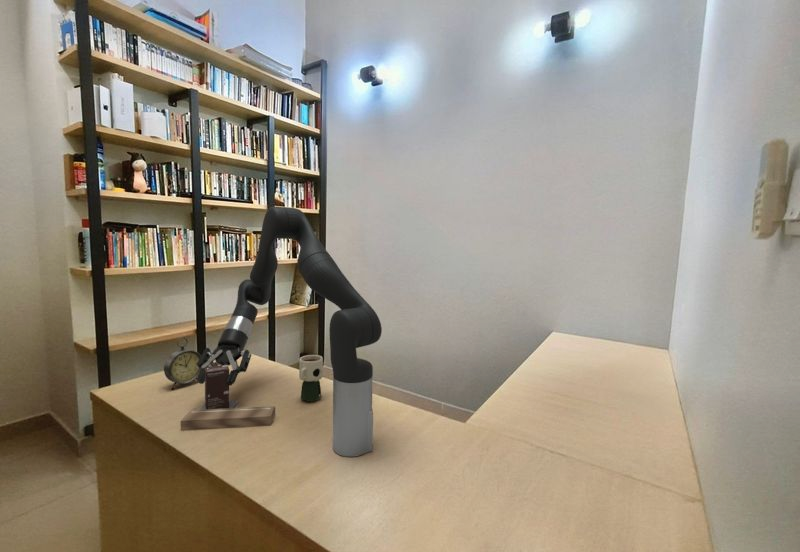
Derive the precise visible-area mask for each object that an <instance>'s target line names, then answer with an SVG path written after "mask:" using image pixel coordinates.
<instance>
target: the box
mask: <svg viewBox="0 0 800 552" xmlns="http://www.w3.org/2000/svg"><path fill="white" fill-rule="evenodd" d="M229 374H230V368H229V366H228V365H218V366H212V367H206V368H205V382H204V404H205V409H225V408H229V401H230V386H229V385H228V384H227V383H226V381H227V379H228V377H229Z"/></svg>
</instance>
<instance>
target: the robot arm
mask: <svg viewBox="0 0 800 552" xmlns="http://www.w3.org/2000/svg"><path fill="white" fill-rule="evenodd" d="M276 239H278V240H279V239H281V240H282V239H283V240H293V241H296V242H297V244H298V245H299V247H300V249H299V253H298V257H297V262H296V264H297V269H298V272H299V274H300V275H301V277H302V279H303V280H304V282H305V284H306V285H307V286H308V287H309V288H310V289H311V290H312V291H313V292H314V293H316V294H317V295H319V296H321V297H322V298H324V299H326V300H328V302H331V303H332V304H334V305H335V306H337V307H338V309H339V310H336V311H335V312H333V314H332V316H331V318H330V322H329V348H330V349H329V351H330V354H329V355H330V363H331V368H332V376H333V377H332V449H333V451H334V452H335V453H336V454H338V455H340V456H343V457H357V456H358V457H359V456H362V455H364V454H366V453H368V452H373V450H374V449H373V446H374V445H373V443H374V442H373V439H374V436H373V435H374V411H373V385H374V384H373V378H374V377H373V376H374V375H373V374H374V373H373V371H374V369H373V364H372V363H371V362H370V361H368V360H366V359H364V358H359V357H358V356H357V349H359V348H362V347H367V346H371V345H373V344H375V343H377V342H378V341H379V340H380V339H381V336H382V332H383V331H382V330H383V329H382V323H381V320H380V318H379V316H378V314H377V312H376V310H374V309H373V307H372V306H371V305H370V304H369V303H368V302H367V301H366V300H365V299H364V297H363V296H362V295H361V294H360V293H359V292H358V291H357V290H356V288H355V287H354V286H353V285H352V284H351V282H350V281H349V280H348V279H347V277H346V276H345V275H344V273H343V272H342V270H341V269H340V267H339V266H338V264H337V263H336V261H335V260H334V259H333V257H332V256H331V255H330V253H329V252H328V250H327V249H326V248H325V246H324V245H323V244H322V242H321V241H320V239H319V238H318V236H317V235H316V233H315V231H314V229H313V227H312V225H311V223H310V221H309V219H308V218H307V217H306V214H305V213H304V212H303V211H302V210H301V209H299V208H295V207H290V206H289V207H288V206H287V207H286V206H271V207H269V208H268V209H267V210H266V212H265V213H264V217H263V221H262V225H261V230H260V236H259V242H258V249H257V254H256V257H255V261H254V263H253V266H252V268H251V271H250V275H249V279H248V278H247V279H244V280H242V282H240V284H239V286H238V290H237V300H236V304H235V307H234V309H233V312H232V314H231V316H230V318H229V320H228V321H227V323H226V325H225V327H224V329H223V332H222V334H221V336H220V337H219V340H218V343H217V346H216V348H215V349H210V347H206V348H205V349H204V350H203V352H202V354H201V357H200V359H199V361H198V363H197V366H198V367H199V368H200V369H201V371H200V373H199V375H198V377H197V380H196V381H197V382H198V383H199V384H201V385H203V384H205V368H206V367H212V366H219V365H228V367H229V366H231V368H232V370H230V371H229V377H228V379H227V381H226V383H227V384H228V385H229V387H230V386H233V384H235V382H236V380H237V377H238V375H239V374H240V373H246V372H247V369H248V367H249V364H250V361H251V357H252V353H251V352H250V351H249V349H245V348H246V344H247V342H248V340H249V337H250V336H251V333H252V328H253V326H254V323H255V321H256V319H257V315H258V312H259V311H258V308H257V307H256V306H255V305H259V306H263V305H266V304H268V302H269V301H270V299H271V296H272V282H273V279H274V277H275V275H276V272H277V269H278V265H279V263H278V262H279V261H278V256H277V254H276V252H275V250H274V246H273V245H274V242H275V241H276ZM252 303H253V304H252ZM254 304H255V305H254ZM240 358H241V360H240V362H238V360H239V359H240ZM239 363H240V364H239Z"/></svg>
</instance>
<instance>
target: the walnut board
mask: <svg viewBox="0 0 800 552" xmlns="http://www.w3.org/2000/svg"><path fill="white" fill-rule="evenodd" d="M275 417H276V405H271V406H267V405H266V406H249V407H247V406H246V407H234V408H225V409H204V410H199V409H190V410H189V411H188V412H187V413H186V414H185V415H184V417H183V418H181V420H180V431H191V430H194V431H195V430H208V429H209V430H211V429H212V430H213V429H230V428H231V429H232V428H247V427H263V426H267V427H268V426H272V423H273V421H274V419H275Z"/></svg>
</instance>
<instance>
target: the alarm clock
mask: <svg viewBox="0 0 800 552" xmlns="http://www.w3.org/2000/svg"><path fill="white" fill-rule="evenodd" d="M182 339H184V340H185V341H186V343H185V344H184V345H181V346H180V345H179V341H180V340H182ZM188 342H189V341H188V338H186V337H184V336H182V337H180V338H178V340H177V342H176V345H177V347H179V348H180V349H178V350H176V351H174V352H173V353H171V354H170V355H169V356H168V357H167V358H166V360H165V362H164V366H163V371H164V372H163V373H164V376H165V377H166V378H167V379H168V380H169V381H170V382H173V384H172V387H171V388H170V390H174V389H175V387H176V385H177V384H179V385H187V384H190V383H191V382H193V381H195V380H196V381H198V380H197V378H198V375H199V373H200V371H201V369H200V368H199V367H198V366H197V363H198V361H199V359H200V357H201V356H202V354H200V353H199V351H196V350H193V349H185V347H186V346H187V345H188Z"/></svg>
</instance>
